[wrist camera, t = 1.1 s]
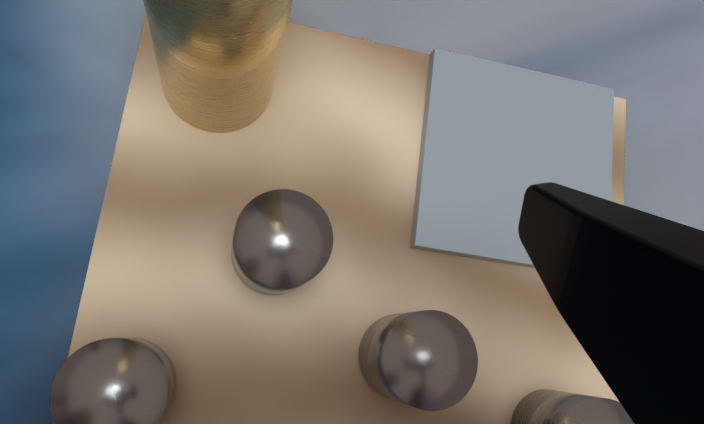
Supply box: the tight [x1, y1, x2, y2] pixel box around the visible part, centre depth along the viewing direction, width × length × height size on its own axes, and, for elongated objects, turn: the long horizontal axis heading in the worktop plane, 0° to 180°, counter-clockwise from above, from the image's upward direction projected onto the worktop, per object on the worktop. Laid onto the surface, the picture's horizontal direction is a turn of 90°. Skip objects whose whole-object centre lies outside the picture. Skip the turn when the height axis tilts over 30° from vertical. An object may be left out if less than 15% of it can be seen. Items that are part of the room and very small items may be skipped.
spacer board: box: [53, 15, 626, 424], centre depth 23 cm, size 16×20×1 cm
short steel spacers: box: [49, 189, 634, 424], centre depth 20 cm, size 8×18×4 cm, turn 83°
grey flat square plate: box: [410, 48, 614, 268], centre depth 24 cm, size 8×8×1 cm
